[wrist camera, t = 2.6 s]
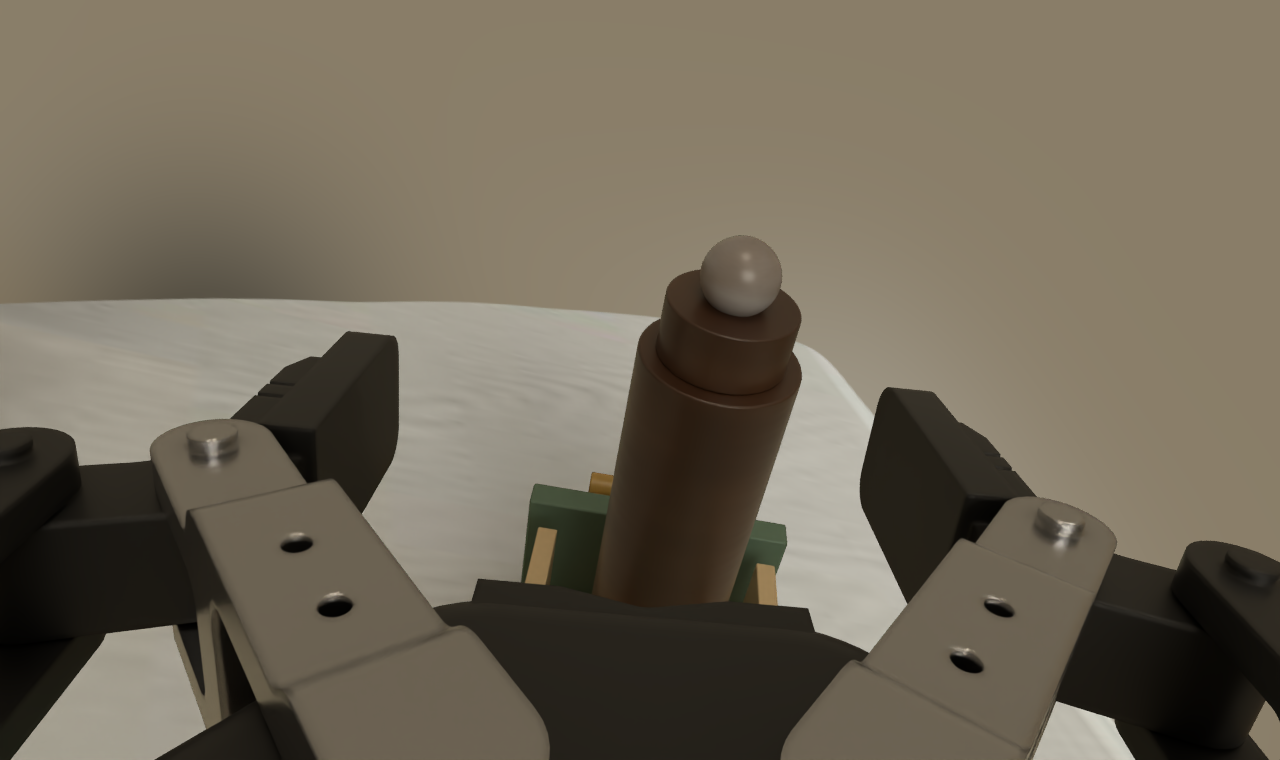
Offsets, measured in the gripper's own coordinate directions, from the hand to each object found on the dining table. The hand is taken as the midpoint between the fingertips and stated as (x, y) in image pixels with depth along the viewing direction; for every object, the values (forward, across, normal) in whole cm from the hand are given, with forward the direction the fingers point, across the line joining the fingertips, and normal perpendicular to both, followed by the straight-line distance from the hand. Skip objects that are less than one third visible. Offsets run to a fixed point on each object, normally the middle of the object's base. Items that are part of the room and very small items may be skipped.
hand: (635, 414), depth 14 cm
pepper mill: (+14, -2, +20) cm, 24 cm away
